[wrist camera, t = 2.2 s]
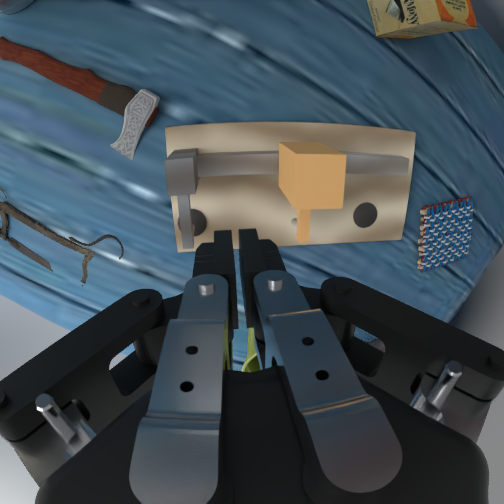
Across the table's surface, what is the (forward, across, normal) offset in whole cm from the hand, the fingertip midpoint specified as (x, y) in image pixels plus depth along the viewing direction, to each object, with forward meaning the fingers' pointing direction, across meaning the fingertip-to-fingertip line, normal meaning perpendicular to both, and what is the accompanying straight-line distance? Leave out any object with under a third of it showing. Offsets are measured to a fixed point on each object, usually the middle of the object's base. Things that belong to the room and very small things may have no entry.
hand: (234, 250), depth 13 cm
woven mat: (+22, -31, +10) cm, 39 cm away
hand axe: (+22, +19, -10) cm, 31 cm away
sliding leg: (+19, -7, +2) cm, 20 cm away
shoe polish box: (+21, -19, -18) cm, 34 cm away
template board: (+21, -8, +3) cm, 23 cm away
